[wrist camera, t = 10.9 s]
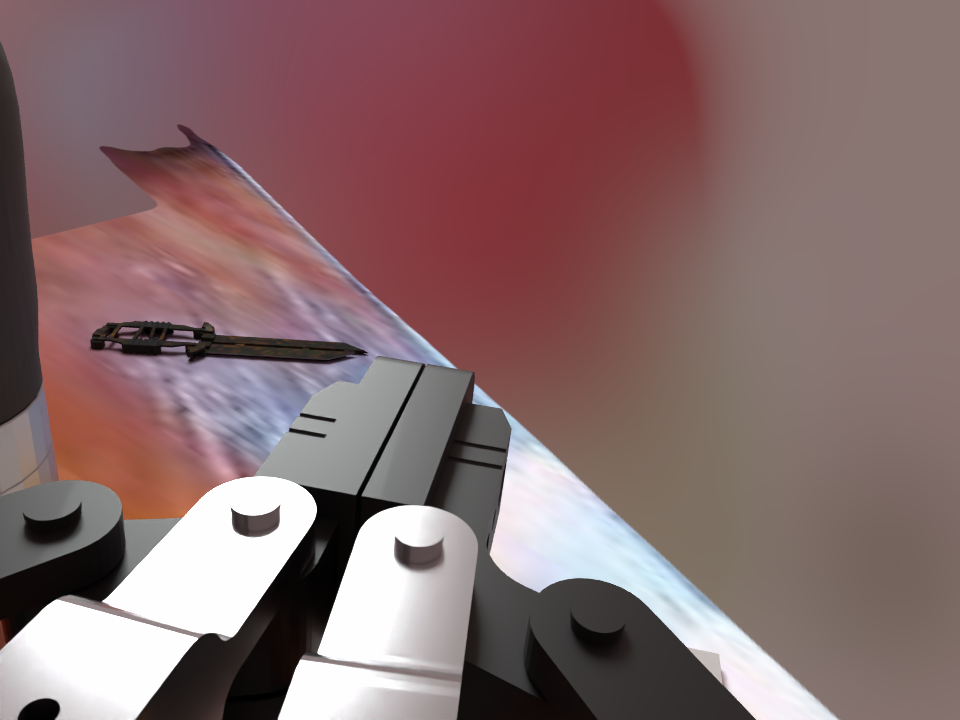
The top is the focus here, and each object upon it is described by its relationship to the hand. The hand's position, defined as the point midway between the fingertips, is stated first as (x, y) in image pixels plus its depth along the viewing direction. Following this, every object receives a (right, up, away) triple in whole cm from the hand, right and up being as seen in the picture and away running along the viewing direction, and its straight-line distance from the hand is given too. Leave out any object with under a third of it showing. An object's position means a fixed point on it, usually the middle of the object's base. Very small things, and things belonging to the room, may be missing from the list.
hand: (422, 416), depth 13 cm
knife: (-23, +2, +65) cm, 69 cm away
